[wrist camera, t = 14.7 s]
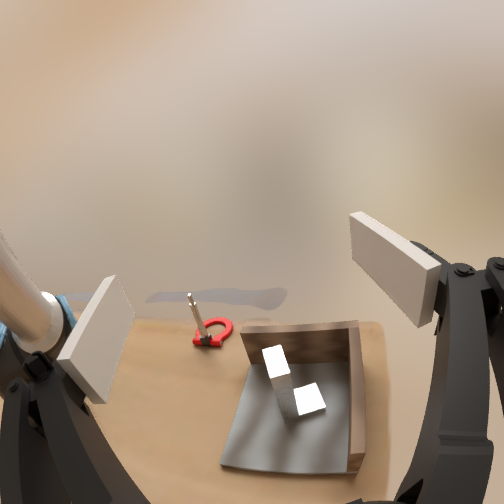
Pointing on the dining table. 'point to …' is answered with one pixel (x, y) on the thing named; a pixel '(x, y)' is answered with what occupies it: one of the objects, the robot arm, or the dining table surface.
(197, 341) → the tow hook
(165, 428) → the dining table surface
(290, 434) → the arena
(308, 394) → the bracket
